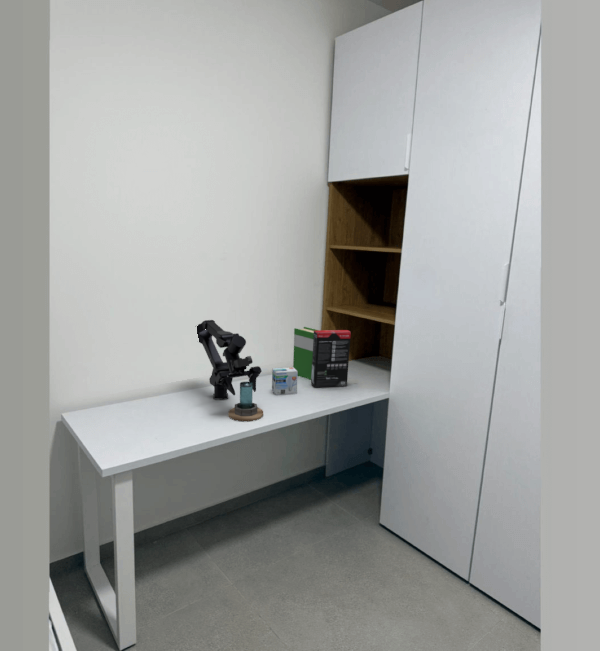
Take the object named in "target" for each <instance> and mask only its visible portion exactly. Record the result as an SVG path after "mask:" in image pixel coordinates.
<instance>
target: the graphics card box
mask: <svg viewBox="0 0 600 651" xmlns="http://www.w3.org/2000/svg"><path fill="white" fill-rule="evenodd" d="M351 337H352V335H351V331H350V330H348V329H337V330H336V329H332V330H331V329H327V330H323V329H322V330H321V329H320V330H319V329H316V330H314V338H313V357H312V374H311V380H310V384H311V385H312V386H313V388H329V387H330V388H333V387H334V388H338V387H347V386H348V377H349V376H348V375H349V362H350V360H349V359H350V347H351V346H350V345H351Z"/></svg>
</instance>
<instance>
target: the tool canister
mask: <svg viewBox="0 0 600 651" xmlns="http://www.w3.org/2000/svg"><path fill="white" fill-rule="evenodd" d="M239 403H240V408H241V409H251V408H252V403H253V383H252V382H249V381H242V382H240V383H239Z"/></svg>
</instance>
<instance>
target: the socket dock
mask: <svg viewBox="0 0 600 651" xmlns="http://www.w3.org/2000/svg"><path fill="white" fill-rule="evenodd" d="M227 416H228V417H229V419H231V418H232V419H231V420H233V419H234V420H233V421H236V420H238V421H237V422H244V421H247V422H254V421H253V420H255V421H258V420H260V419H262V418H263V417H264V410H263V409H262V408H260V407H258V404H257V403H255V402H252V408H251V409H241V408H240V402H238V403H234V407H232V408H230V409H229V410H228V415H227ZM262 416H263V417H262ZM261 417H262V418H261ZM257 419H258V420H257Z"/></svg>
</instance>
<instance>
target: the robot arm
mask: <svg viewBox="0 0 600 651" xmlns="http://www.w3.org/2000/svg"><path fill="white" fill-rule="evenodd" d="M197 325H198V326H197ZM197 325H196V326H197V334H198V338H199V342H198V343H200V345H201V344H202V346H203V349H204V350H205V353H206V356H207V358H208V359H209V362H210V364H211V366H212V371H211V376H210V377H209V384H210V385H211V386H213V387H214V388H213V389H214V391H213V392H214V393H213V395H212V396H213V398H212V399H213V400H228V399H229V392H230V394H231V395H232V396H235V395H236V391H235V389H234V386H233V378H240V377H248V382H252V383H253V389H252V392H253V393H255V392H257V378H259V376H260V374H261V373H262V369H261V367H260V366H259V365H257V366H250V365H251V364H253V358H252V356H251V355H247V356H245V357H244V358H243V357H240V353H241V352H242V351H243V349H244V348H245V346H246V344H247V341H246V339H245V338H244V337H243V336H242V335H240V334H239V333H233V332H231V331H228V330H227V331H226V330H224V329H223V328H222V327H220V326H219V325H218V323H216V321H215V320H213V319H208V320H203V321H202V322H201V323H199V324H197ZM205 329H206V330H205ZM213 338H215V343H216V344H217V346H218V347H219V348H220V349H223V348H225V349H224V350H223V352H222V357H224V359H225V362H223V359H222V357H221V355H220V353H219V351H218V348H217V347H216V345H215V343H214V341H213ZM247 367H250V368H249V370H247V369H248V368H247ZM228 391H229V392H228Z"/></svg>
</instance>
